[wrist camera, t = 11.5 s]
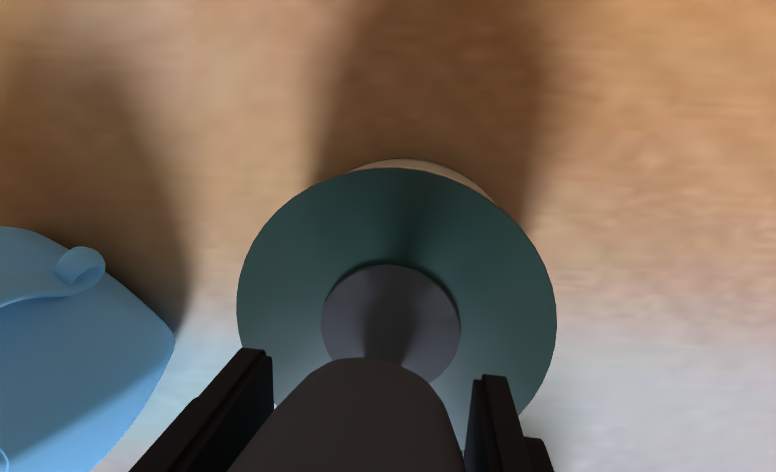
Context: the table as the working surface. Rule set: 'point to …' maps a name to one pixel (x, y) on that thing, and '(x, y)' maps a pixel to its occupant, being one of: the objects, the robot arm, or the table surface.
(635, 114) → the table surface
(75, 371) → the teapot
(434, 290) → the sundae
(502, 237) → the tin
